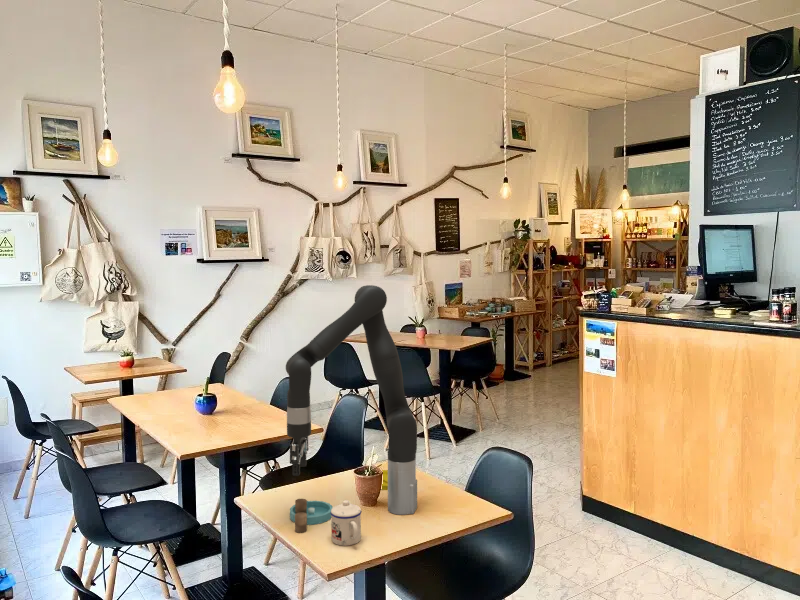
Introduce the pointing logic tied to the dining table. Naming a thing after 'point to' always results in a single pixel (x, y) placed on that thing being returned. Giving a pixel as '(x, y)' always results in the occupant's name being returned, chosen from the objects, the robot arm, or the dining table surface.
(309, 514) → the groove tray
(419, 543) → the dining table surface
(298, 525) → the walnut bead
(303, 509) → the walnut bead
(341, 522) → the teacup with lid
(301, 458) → the robot arm
